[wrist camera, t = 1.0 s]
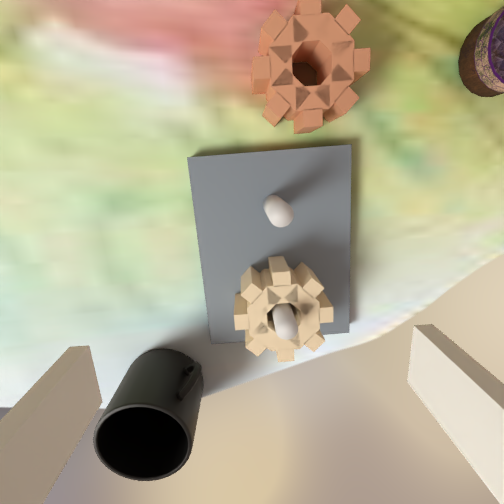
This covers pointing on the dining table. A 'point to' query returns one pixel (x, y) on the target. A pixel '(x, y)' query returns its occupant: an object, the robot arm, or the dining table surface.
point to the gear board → (274, 245)
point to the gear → (317, 56)
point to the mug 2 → (484, 57)
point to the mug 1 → (151, 417)
